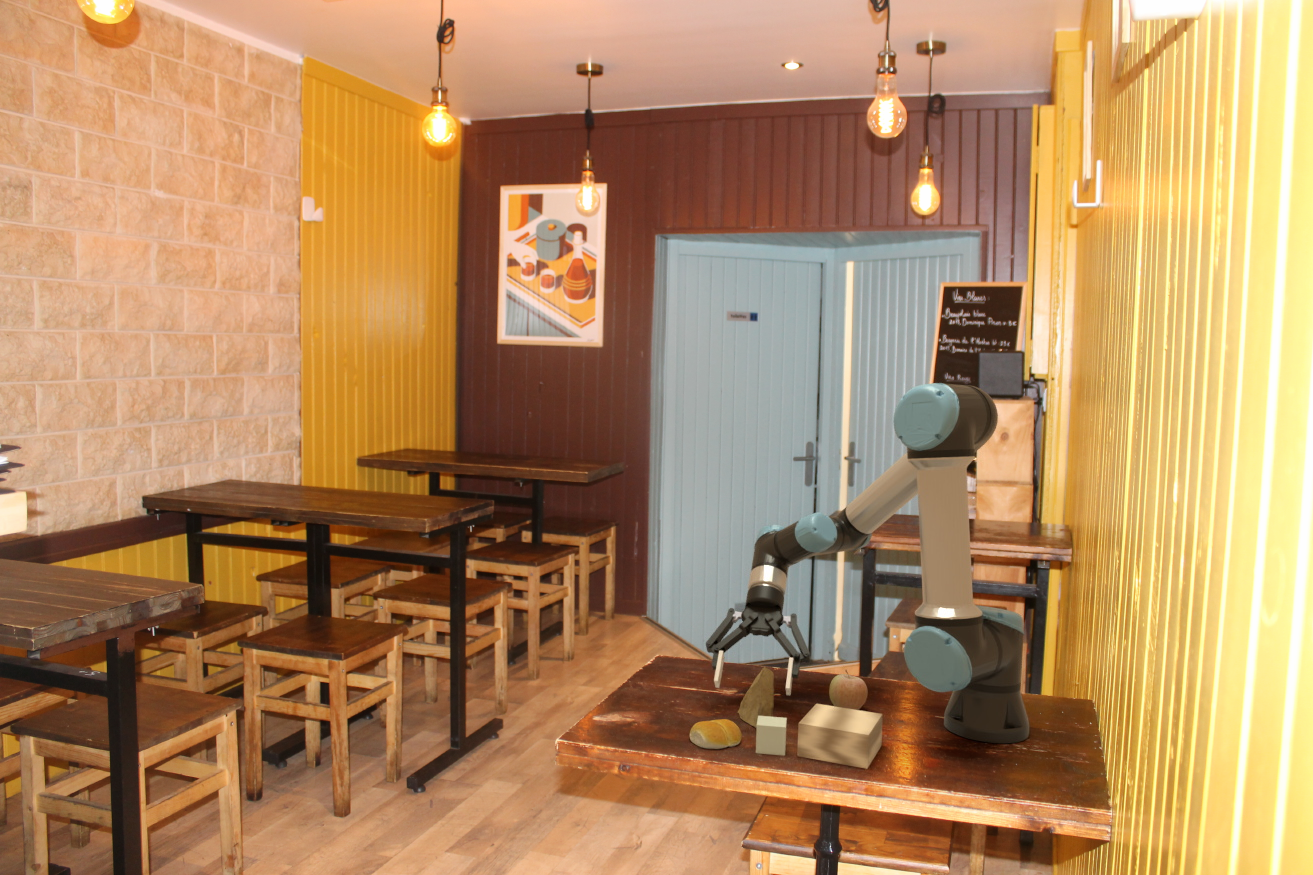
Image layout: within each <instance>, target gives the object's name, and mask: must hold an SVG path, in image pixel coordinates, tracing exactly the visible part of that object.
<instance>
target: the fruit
mask: <svg viewBox="0 0 1313 875" xmlns="http://www.w3.org/2000/svg"><path fill="white" fill-rule="evenodd" d="M844 671H845V674H844V673H839V674H837V675H836V676H834V677H833V678H832V680H831V682H830V684H829V688H828V689H829V692H828V694H829V699H830V701H831V703H832V704H833V705H832V706H835V707H841V708H848V709H854V710H860V709H861V708H862V707H863V705H865V703H866V702H867V699H868V693H869V692H868V687H867V684H866V682H865V681H864V680H863V679H862V678H860V677H858V676H855V675H850V674H849V673H848V670H847V669H846V668H845V669H844Z"/></svg>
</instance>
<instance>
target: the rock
mask: <svg viewBox="0 0 1313 875" xmlns="http://www.w3.org/2000/svg"><path fill="white" fill-rule="evenodd" d="M774 677H775V676H774V671H772V670H771V669H769V668H768V667H767V666H764V667H762V668H761V670H760V672H759V673H758V674H757V676H755V678H754V680H753V682H752V684H751V685H750V686H749V689H747V691H746V693H745V695H744V696H743V699H742V700H741V701H740V704H739V709H738V710H737V711H736V714H738V715H739V718H740V719H741V720H742V721H744V722H745V723H747V724H749V726H752V727H754V728H755V730H757V720H758V716H769V717H774V706H775V705H774V704H775V703H774V702H775V700H774V699H775V688H774V686H775V683H774V682H775V681H774Z"/></svg>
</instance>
